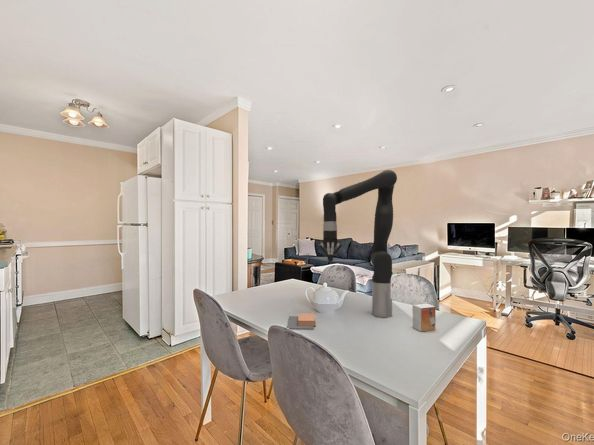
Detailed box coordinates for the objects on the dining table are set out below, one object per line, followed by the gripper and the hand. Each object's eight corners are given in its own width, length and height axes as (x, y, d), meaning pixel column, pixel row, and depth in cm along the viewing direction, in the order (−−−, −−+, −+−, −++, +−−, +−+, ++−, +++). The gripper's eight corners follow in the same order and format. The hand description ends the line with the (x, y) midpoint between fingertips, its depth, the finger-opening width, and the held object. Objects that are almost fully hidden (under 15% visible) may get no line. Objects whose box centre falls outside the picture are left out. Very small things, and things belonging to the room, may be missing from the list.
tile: (314, 313, 133) (298, 313, 133) (315, 320, 123) (298, 320, 123) (314, 318, 133) (298, 318, 133) (315, 326, 123) (298, 325, 123)
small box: (420, 332, 117) (420, 308, 117) (412, 327, 122) (412, 304, 122) (436, 330, 119) (435, 306, 119) (426, 325, 124) (426, 303, 124)
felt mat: (312, 316, 136) (312, 316, 136) (313, 329, 120) (313, 328, 120) (289, 316, 137) (289, 316, 137) (287, 329, 121) (287, 328, 121)
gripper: (341, 229, 149) (341, 260, 149) (317, 229, 150) (317, 260, 150) (343, 230, 142) (343, 262, 142) (318, 230, 142) (318, 262, 142)
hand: (330, 261), depth 146 cm, fingers closed
